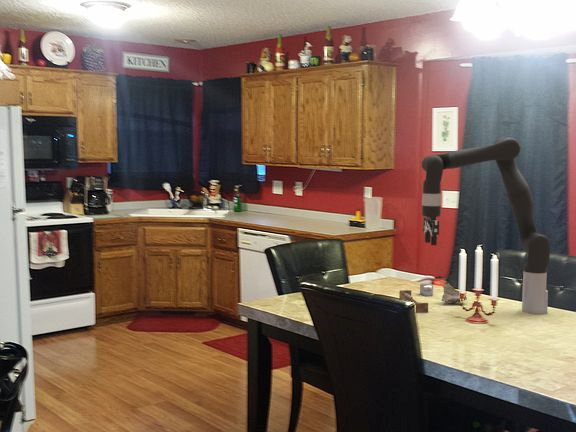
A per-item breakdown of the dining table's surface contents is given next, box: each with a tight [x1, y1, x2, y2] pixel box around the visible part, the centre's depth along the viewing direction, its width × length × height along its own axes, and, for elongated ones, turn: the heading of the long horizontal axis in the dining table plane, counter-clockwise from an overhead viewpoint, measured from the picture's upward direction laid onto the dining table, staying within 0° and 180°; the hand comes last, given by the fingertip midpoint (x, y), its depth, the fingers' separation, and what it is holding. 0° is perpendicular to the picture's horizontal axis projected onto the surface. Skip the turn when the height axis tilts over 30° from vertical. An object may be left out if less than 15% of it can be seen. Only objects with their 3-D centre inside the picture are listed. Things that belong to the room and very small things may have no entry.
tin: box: [419, 283, 434, 298], centre depth 313 cm, size 6×6×5 cm
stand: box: [398, 289, 429, 314], centre depth 291 cm, size 5×27×5 cm, turn 5°
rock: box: [441, 282, 468, 304], centre depth 296 cm, size 11×6×10 cm
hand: (430, 243), depth 276 cm, fingers open, 8 cm apart
